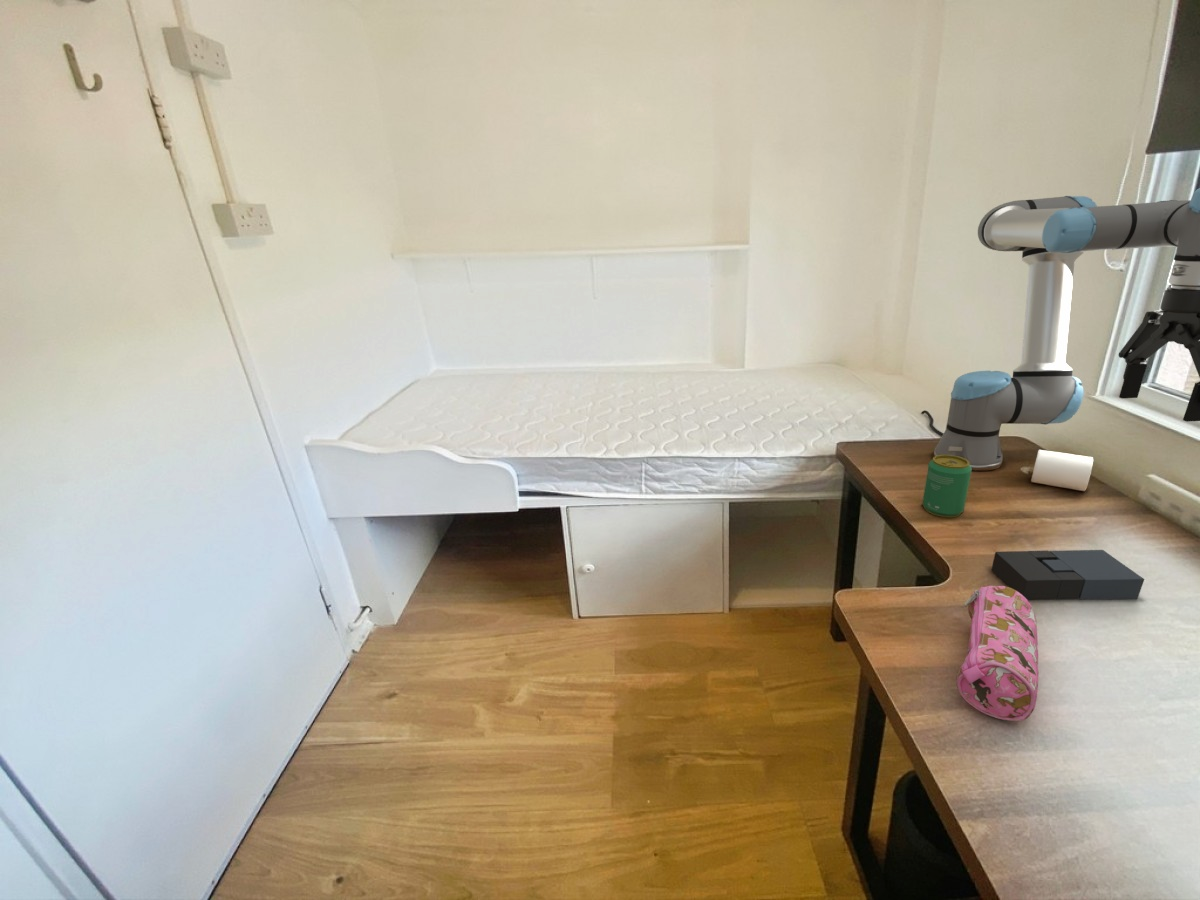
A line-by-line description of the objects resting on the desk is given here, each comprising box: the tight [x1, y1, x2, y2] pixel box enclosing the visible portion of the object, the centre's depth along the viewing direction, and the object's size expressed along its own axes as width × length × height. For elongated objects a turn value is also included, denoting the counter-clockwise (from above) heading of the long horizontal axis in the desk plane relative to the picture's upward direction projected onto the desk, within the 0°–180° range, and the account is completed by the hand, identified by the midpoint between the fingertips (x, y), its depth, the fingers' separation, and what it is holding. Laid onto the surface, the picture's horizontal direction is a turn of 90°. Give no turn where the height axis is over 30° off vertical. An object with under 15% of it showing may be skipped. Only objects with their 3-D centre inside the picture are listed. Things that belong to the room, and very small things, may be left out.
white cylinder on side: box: [1030, 449, 1094, 492], centre depth 130 cm, size 12×10×8 cm
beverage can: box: [922, 455, 973, 518], centre depth 122 cm, size 8×8×12 cm
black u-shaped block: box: [991, 550, 1084, 601], centre depth 97 cm, size 9×9×4 cm
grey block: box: [1042, 549, 1145, 601], centre depth 96 cm, size 9×12×4 cm
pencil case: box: [955, 585, 1039, 722], centre depth 79 cm, size 21×9×9 cm, turn 146°
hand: (1158, 408), depth 99 cm, fingers open, 13 cm apart
